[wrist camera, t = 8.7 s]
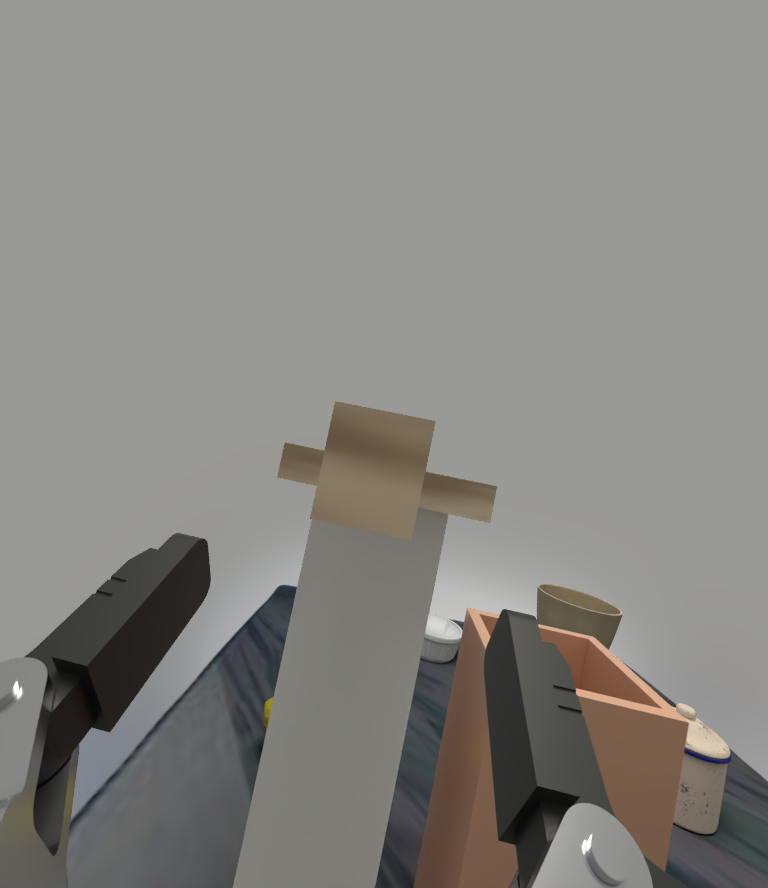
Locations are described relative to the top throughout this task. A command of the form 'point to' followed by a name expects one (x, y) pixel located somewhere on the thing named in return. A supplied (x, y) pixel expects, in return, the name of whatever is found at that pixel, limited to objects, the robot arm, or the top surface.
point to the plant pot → (577, 613)
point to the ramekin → (440, 639)
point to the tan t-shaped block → (380, 474)
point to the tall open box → (615, 745)
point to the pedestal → (341, 707)
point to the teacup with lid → (700, 776)
